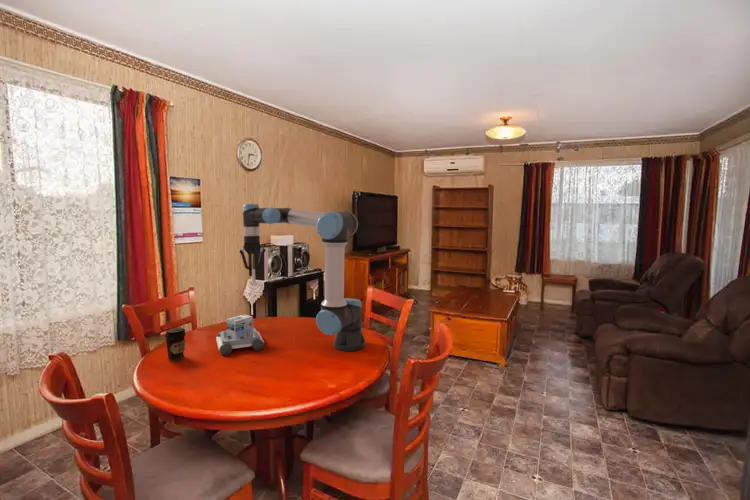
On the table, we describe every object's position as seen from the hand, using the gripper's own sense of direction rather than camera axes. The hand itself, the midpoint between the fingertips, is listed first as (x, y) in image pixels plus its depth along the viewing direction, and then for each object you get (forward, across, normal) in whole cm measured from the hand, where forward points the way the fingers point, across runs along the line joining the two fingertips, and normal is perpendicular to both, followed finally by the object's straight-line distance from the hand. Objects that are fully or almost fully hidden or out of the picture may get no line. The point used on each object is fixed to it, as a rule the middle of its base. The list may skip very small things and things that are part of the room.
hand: (253, 282), depth 195 cm
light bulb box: (+26, +8, +7) cm, 28 cm away
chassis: (+29, +8, +7) cm, 31 cm away
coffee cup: (+29, +36, +12) cm, 48 cm away
